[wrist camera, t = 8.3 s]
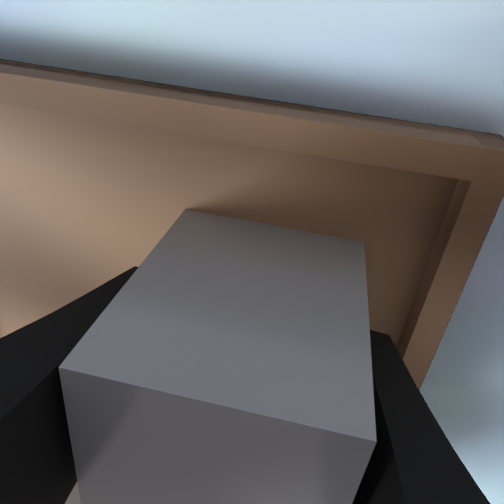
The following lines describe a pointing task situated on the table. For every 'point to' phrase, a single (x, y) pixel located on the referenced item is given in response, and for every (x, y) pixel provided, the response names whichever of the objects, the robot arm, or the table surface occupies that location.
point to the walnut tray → (233, 190)
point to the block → (227, 372)
